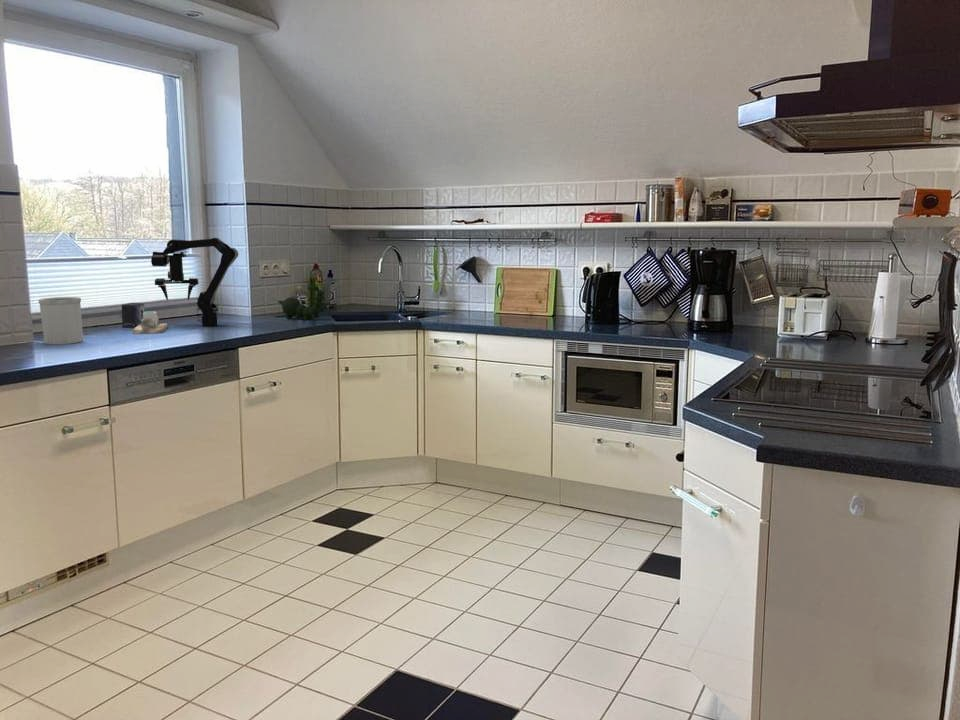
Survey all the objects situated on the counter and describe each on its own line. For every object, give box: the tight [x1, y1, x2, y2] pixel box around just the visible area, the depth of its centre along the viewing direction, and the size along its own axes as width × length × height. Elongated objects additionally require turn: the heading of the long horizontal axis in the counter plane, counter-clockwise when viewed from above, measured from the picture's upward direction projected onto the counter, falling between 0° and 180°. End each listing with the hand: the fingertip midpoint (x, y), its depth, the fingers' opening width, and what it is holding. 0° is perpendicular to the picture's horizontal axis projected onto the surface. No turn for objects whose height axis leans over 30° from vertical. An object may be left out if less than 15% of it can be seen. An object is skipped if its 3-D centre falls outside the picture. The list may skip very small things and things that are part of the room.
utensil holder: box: [38, 296, 84, 345], centre depth 306 cm, size 15×15×18 cm
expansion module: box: [143, 310, 158, 326], centre depth 344 cm, size 5×6×6 cm
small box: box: [121, 302, 145, 328], centre depth 358 cm, size 11×6×10 cm, turn 179°
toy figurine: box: [277, 284, 326, 321], centre depth 390 cm, size 9×19×25 cm
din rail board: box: [132, 314, 168, 335], centre depth 345 cm, size 12×22×6 cm, turn 17°
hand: (177, 300), depth 359 cm, fingers open, 9 cm apart
